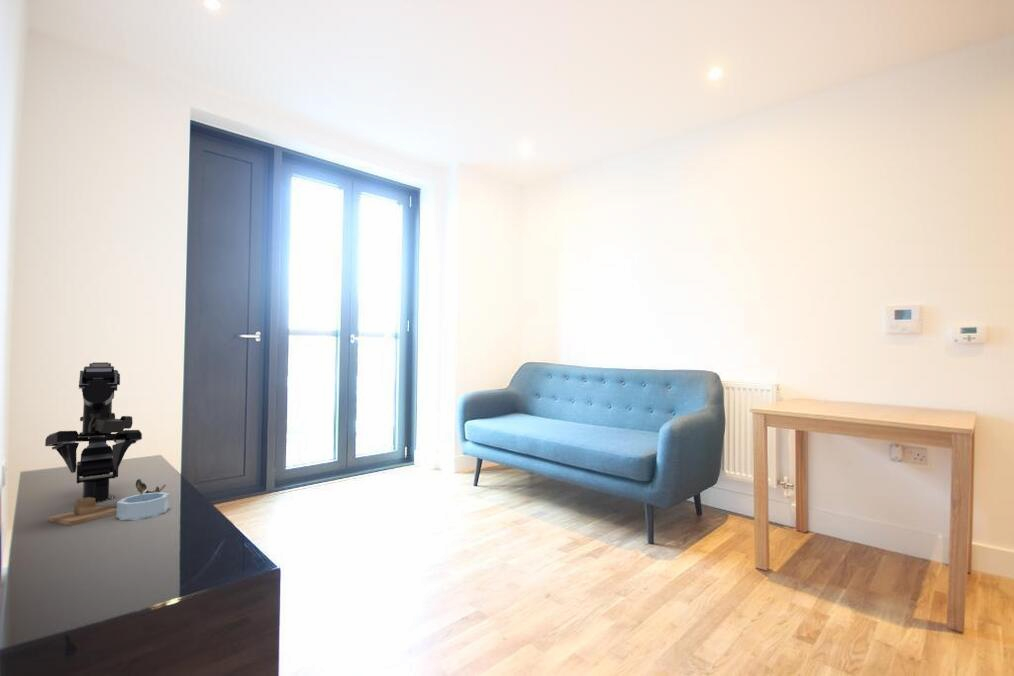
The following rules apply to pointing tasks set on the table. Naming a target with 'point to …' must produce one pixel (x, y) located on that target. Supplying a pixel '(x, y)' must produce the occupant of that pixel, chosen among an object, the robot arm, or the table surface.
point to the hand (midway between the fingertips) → (95, 470)
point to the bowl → (142, 506)
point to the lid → (83, 512)
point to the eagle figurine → (145, 487)
